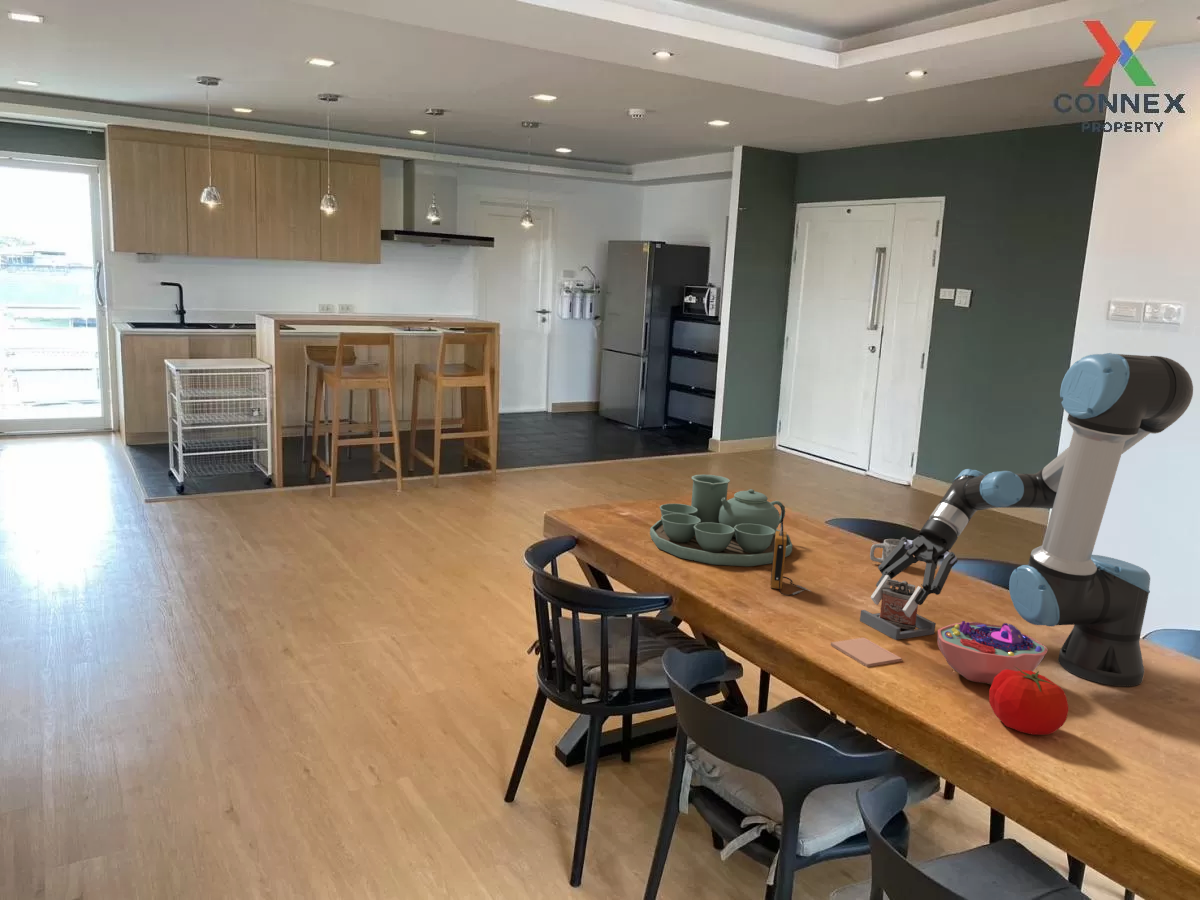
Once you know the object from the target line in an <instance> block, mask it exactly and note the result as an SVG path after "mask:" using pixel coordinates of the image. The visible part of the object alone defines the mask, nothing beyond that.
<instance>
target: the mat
mask: <svg viewBox="0 0 1200 900" xmlns="http://www.w3.org/2000/svg"><path fill="white" fill-rule="evenodd" d="M830 646H831V647H832V648H834V649H836V650H838V651H839V652H841V653H842V654H844V655H846V656H847V657H850V658H851V659H853V660H854V661H856V662H858V663H859V664H861V665H863V666H864V667H866V668H869V667H875V666H880V665H886V664H894V663H898V662H902V660H903V658H902V657H900V656H899V655H896V654H895V653H893V652H891V651H889V650H888V649H886V648H884V647H882V646H880V645H879V644H877V643H875V642H873V641H871V640H870V639H868V638H866V637H858V638H857V637H856V638H852V639H851V638H850V639H844V640H839V641H837V640H836V641H833V642H830Z"/></svg>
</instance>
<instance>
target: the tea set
mask: <svg viewBox="0 0 1200 900" xmlns="http://www.w3.org/2000/svg"><path fill="white" fill-rule="evenodd" d="M691 480H692V481H693V482H692V492H691V493H692V494H691V504H690V505H689V504H683V503H665V504H661V505H660V506H659V510H660V514H661V515H660V519H659V520H657V521H656V522H655V523H654V524H653V525H652V526H650V528H649V536H650V538H651V540H652V541H653V543H654V544H655V546H656V548H657V549H659V550H661V551H665V552H666V553H668V554H671V555H672V556H675V557H678V558H679V559H684V560H689V561H693V560H694V561H695V562H699V563H703V564H708V565H714V566H718V565H719V566H731V567H754V566H763V565H771V564H772V562H773V552H774V542H775V534H776V531H780V530H779V529H778V527H779V525H781V518H782V510H783V509H784V507H785V506H784V504H783V503H782V502H781V501H779V500H772V501H768V496H767V495H766V494H764V493H762V492H758V491H755V489H752V488H750V489H748V490H740V491H737V492H735V493H734V495H733V497H732V498H730V499H728V498H727V497H728V489H729V488H728V486H729V483H730V482H731V480H730V479H729V478H728V477H725V476H723V475H714V474H695V475H692V476H691ZM775 505H777V506H779V508H780V513H779V510H778V509H777V507H775ZM782 505H783V506H784V507H783V506H782ZM781 506H782V510H781ZM785 516H786V509H785V510H784V518H783V520H784V519H785ZM792 552H793V542H792V540H791V537H790V535H789V534H788V533H787V543H786V553H785V558H787V557H788V556H790V555H791V553H792ZM694 561H693V562H694Z"/></svg>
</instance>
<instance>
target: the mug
mask: <svg viewBox="0 0 1200 900" xmlns="http://www.w3.org/2000/svg"><path fill="white" fill-rule="evenodd" d="M900 540H901V539H895V538H887V539H884V540H883V542H882V543H875V544H872V546H871V547H870V553H869V557H870V560H871V561H873V562H875V563H880V564H881V563H882V562H883V561H884V560H885V559H886V558H887V557H888V555H889V554H890V553H891V552H892V551H893V550H894V549H895V548H896V547H897V546H898V544H899V542H900ZM877 548H879V549H882V555H881V557H875V550H876V549H877ZM907 551H908V550H907ZM906 553H907V552H906ZM906 553H905V555H906Z"/></svg>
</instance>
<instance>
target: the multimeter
mask: <svg viewBox="0 0 1200 900" xmlns="http://www.w3.org/2000/svg"><path fill="white" fill-rule="evenodd" d="M782 506H783V507H784V509H783V510H782ZM782 506H781V508H780V511H781V510H782V518H781V523H780V531H776V534H775V542H774V552H773V562H772V563H771V565H772V566H771V575H770V588H771V589H776V590H777V589H778V590H779V593H780V594H781V595H784V596H787V597H790V596H793V595H797V594H801V592H803V591H809V592H812V590H810V589H808V588H807V587H804V586H801V585H798V584H795V583H793V580H792V579H791V578H790V577H787V576H785V575H784V571H785V561H786V557H785V553H786V543H787V534H788V532H787V531H784V519H785V516H784V510H785V511H786V507H785V505H784V504H783V505H782ZM783 518H784V519H783ZM784 578H785V579H788V580H789V581H790V582H789V584H790V585H793V586H796V587H797V588H800V589H802V590H797V591H795V592H792V593H790V594H786V593H783V592H782V591H781V590H782V589H783V583H784V582H783V581H784Z"/></svg>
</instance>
